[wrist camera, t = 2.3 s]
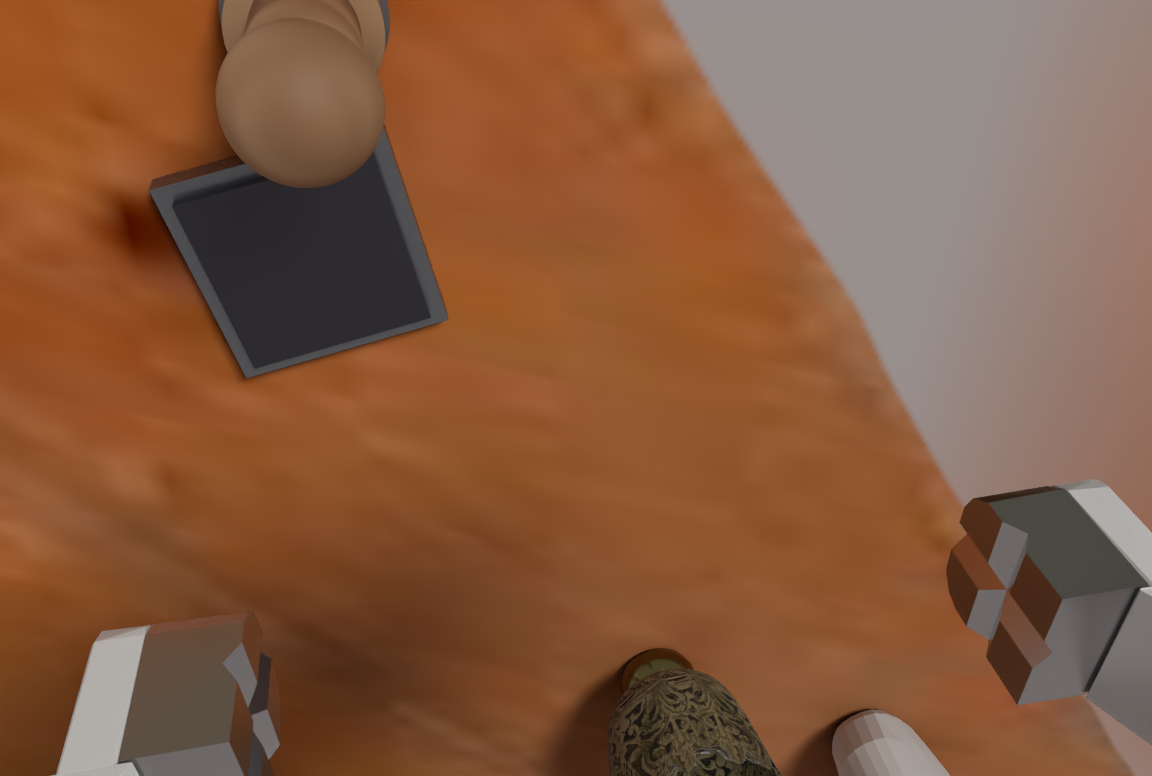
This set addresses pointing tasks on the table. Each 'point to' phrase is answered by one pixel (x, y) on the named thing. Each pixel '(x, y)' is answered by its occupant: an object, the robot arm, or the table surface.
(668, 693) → the cup
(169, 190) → the ink pad
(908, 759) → the soap bottle
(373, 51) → the stamp
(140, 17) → the table surface
